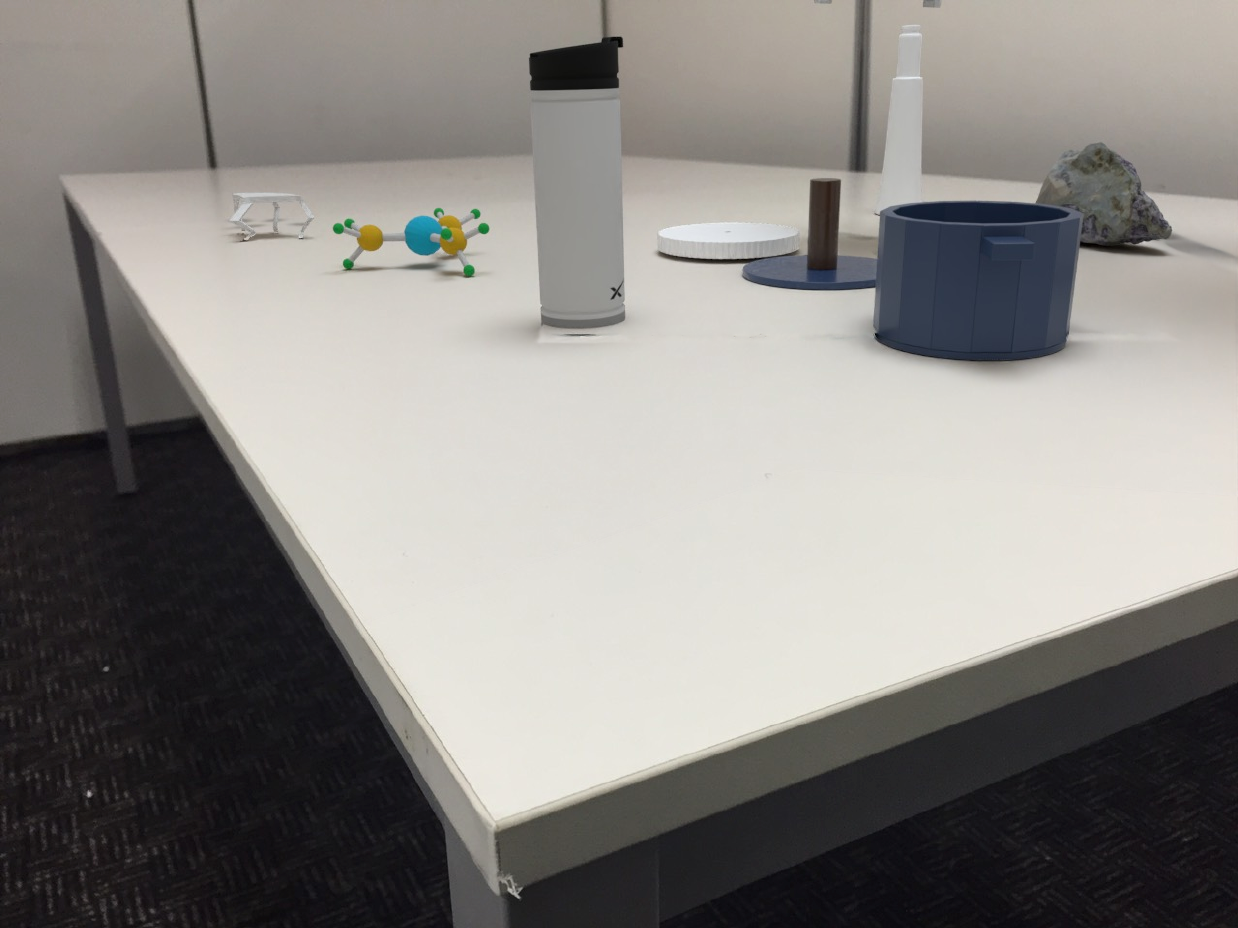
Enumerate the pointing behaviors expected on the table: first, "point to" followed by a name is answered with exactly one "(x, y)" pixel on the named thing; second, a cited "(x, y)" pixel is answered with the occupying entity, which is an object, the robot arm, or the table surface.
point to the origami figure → (266, 197)
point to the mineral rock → (1104, 197)
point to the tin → (976, 278)
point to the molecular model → (418, 236)
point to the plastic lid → (728, 240)
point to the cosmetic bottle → (904, 127)
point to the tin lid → (817, 251)
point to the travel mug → (578, 184)
